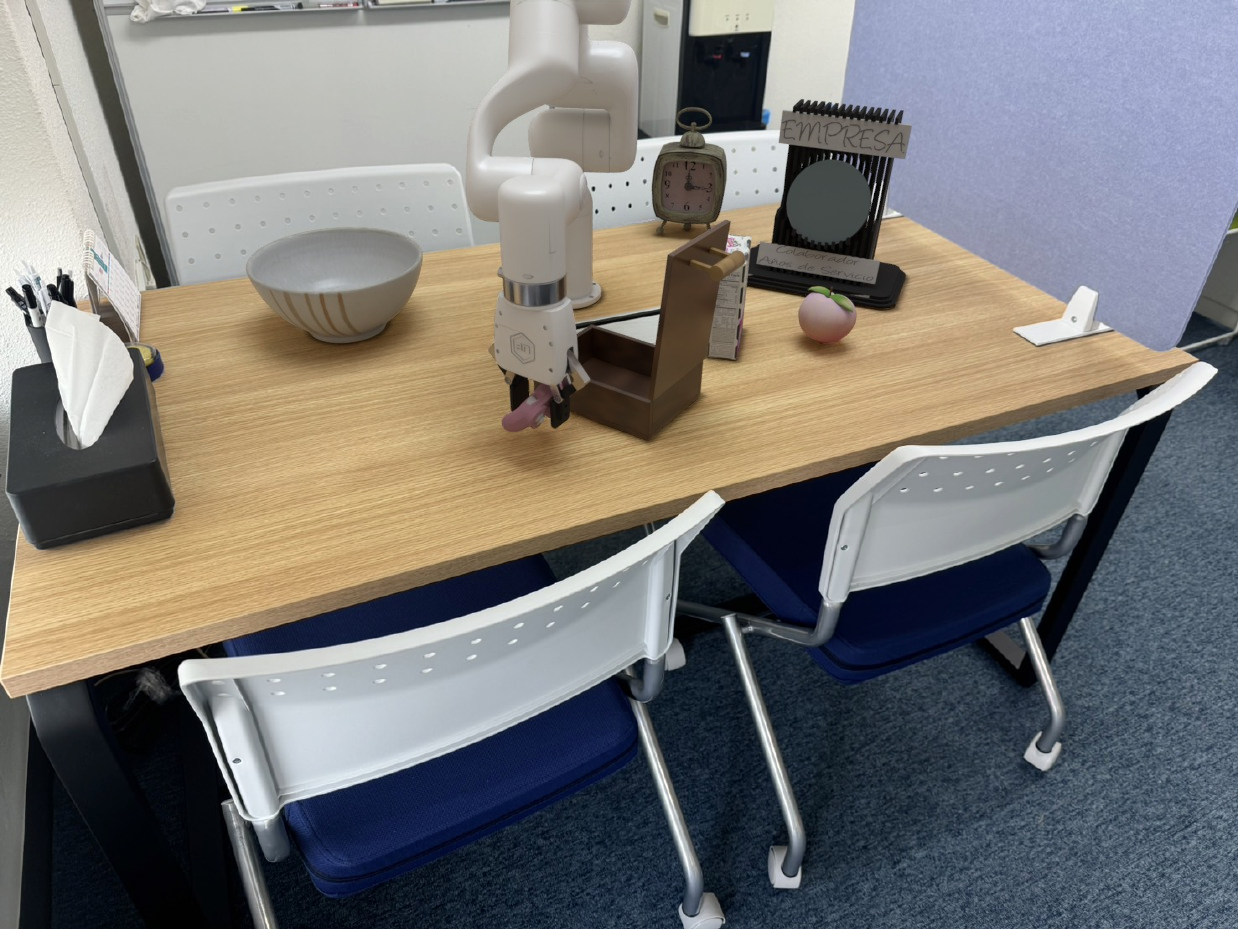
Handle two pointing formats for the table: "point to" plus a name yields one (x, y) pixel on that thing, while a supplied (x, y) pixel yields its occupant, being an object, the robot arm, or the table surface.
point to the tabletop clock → (689, 179)
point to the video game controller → (530, 410)
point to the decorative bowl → (337, 280)
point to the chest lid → (690, 305)
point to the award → (833, 205)
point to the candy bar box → (730, 305)
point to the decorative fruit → (826, 315)
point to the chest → (627, 384)
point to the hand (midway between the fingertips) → (540, 414)
